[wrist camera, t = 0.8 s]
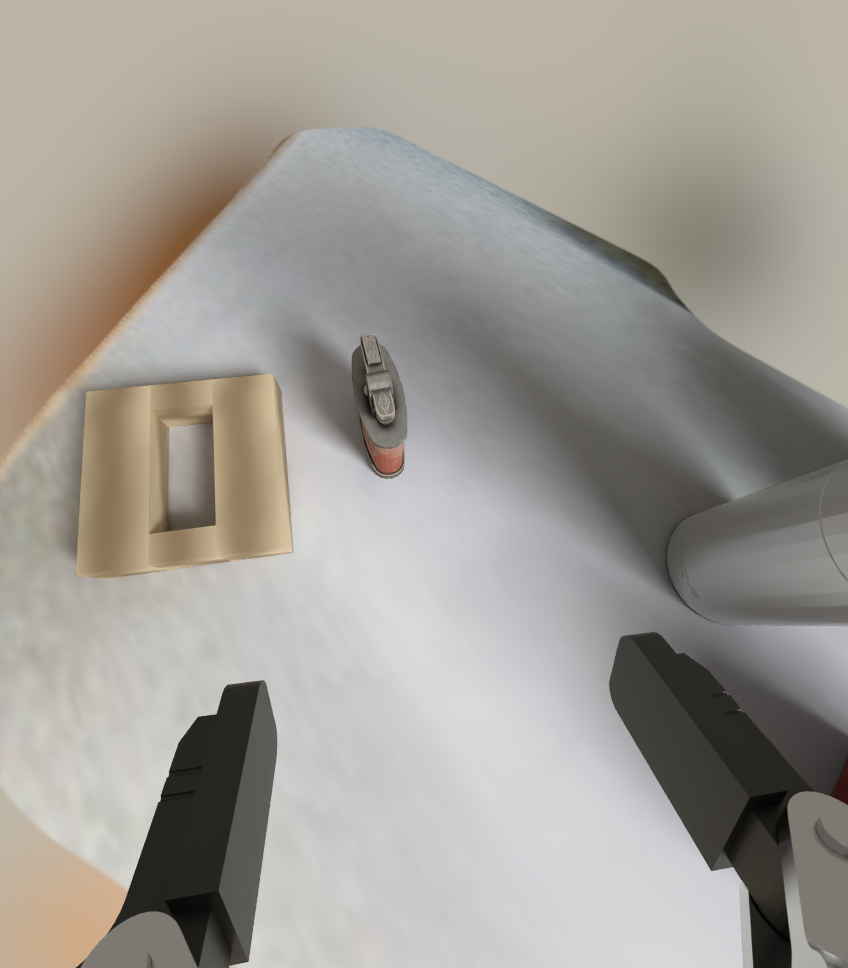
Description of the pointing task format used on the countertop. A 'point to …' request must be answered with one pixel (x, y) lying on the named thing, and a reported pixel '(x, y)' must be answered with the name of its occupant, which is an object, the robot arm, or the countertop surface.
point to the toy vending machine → (842, 786)
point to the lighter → (379, 407)
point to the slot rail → (144, 476)
